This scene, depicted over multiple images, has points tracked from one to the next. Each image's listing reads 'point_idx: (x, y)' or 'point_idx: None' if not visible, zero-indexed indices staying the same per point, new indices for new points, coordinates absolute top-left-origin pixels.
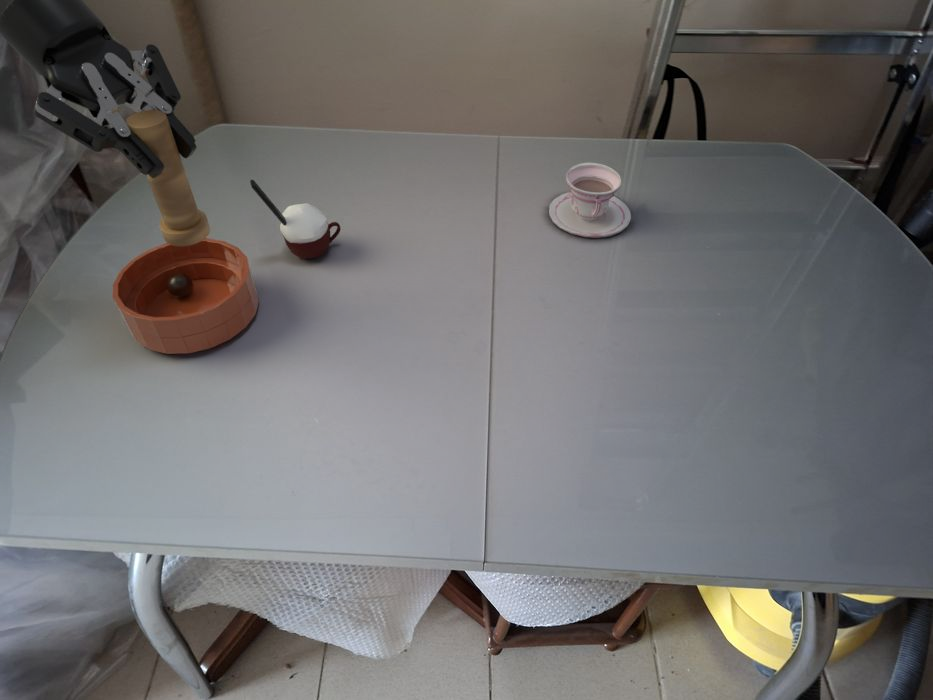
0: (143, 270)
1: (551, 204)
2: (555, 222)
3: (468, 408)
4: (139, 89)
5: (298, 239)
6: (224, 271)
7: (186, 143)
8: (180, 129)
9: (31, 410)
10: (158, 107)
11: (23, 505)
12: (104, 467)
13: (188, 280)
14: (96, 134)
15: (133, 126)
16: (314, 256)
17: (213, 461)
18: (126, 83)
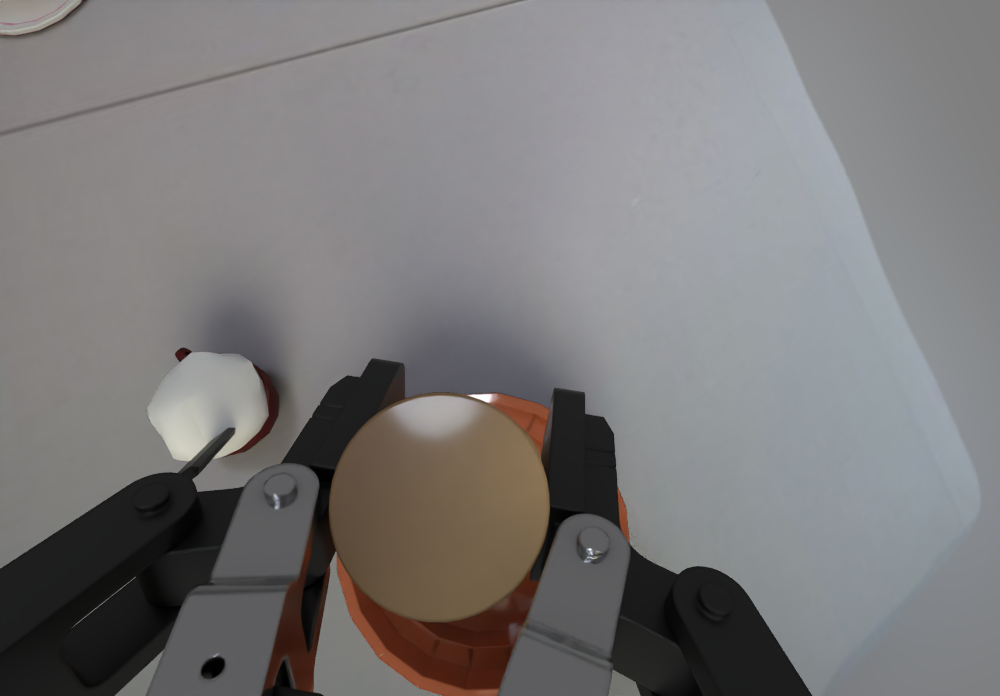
0: (461, 672)
1: (6, 29)
2: (65, 11)
3: (537, 22)
4: (279, 621)
5: (261, 394)
6: None
7: (394, 378)
8: (352, 407)
9: (803, 663)
10: (306, 512)
11: (946, 522)
12: (839, 450)
13: None
14: (750, 617)
15: (541, 512)
16: (271, 380)
17: (760, 301)
18: None
